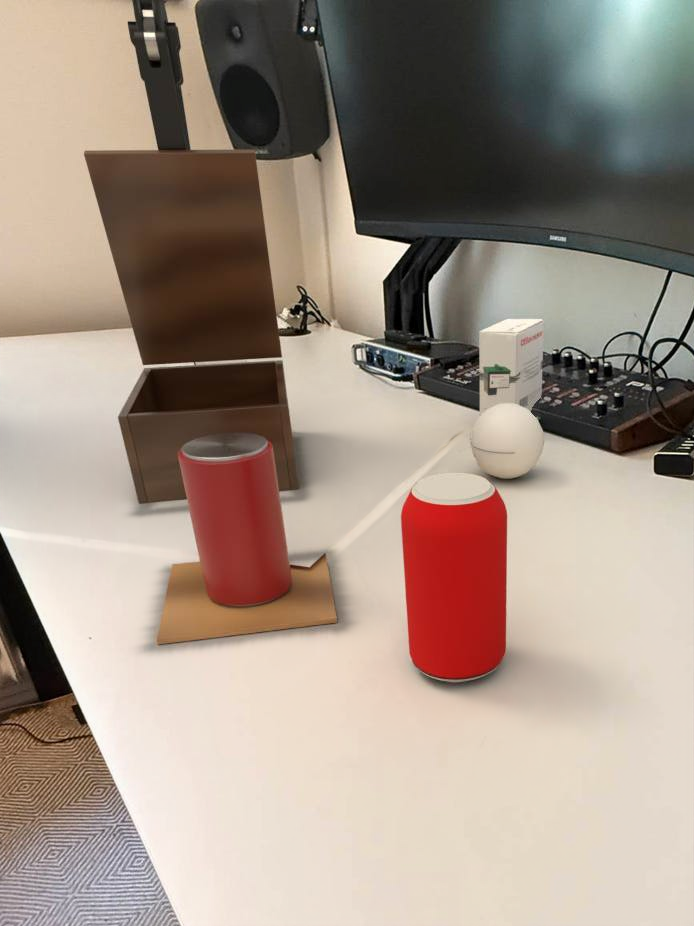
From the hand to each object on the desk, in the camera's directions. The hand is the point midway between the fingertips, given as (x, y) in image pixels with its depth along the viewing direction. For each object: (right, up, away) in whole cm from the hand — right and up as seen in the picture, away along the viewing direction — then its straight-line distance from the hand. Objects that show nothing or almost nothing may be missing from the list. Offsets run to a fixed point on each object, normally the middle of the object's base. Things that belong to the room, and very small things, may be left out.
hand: (192, 248), depth 79 cm
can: (+11, -35, -20) cm, 42 cm away
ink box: (+32, -13, +17) cm, 39 cm away
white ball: (+30, -23, +2) cm, 38 cm away
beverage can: (+27, -41, -28) cm, 56 cm away
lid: (0, -2, 0) cm, 2 cm away
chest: (+2, -21, +5) cm, 22 cm away
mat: (+11, -35, -19) cm, 42 cm away
